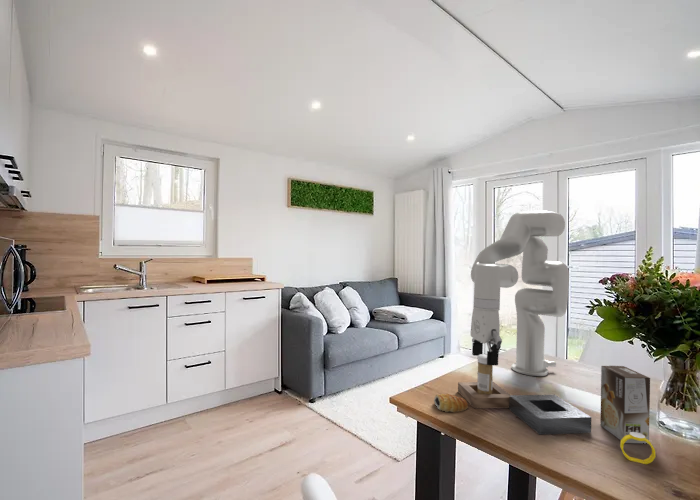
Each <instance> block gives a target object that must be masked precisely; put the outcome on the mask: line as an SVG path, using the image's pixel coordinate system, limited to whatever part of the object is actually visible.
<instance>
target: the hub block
mask: <svg viewBox="0 0 700 500" xmlns="http://www.w3.org/2000/svg"><path fill="white" fill-rule="evenodd" d="M508 410H509V411H511V412H512V413H513V414H514V415H515V416H517V417H518V418H519V419H520V420H522V422H524V423H525V424H526V425H527V426H529V428H531V429H532V430H534V431H535V433H537V434H538V435H565V434H567V435H569V434H590V433H592V418H593V417H592V416H590V415H589V414H587V413H585V412H584V411H583V410H581V409H579V408H578V407H576V406H574V405H572V404H570V403H569V402H568V401H566V400H564V399H563V398H561V397H560V396H558V395H556V394H524V395H523V394H522V395H521V394H519V395H518V394H515V395H514V394H513V395H511V394H510V395H509V408H508Z"/></svg>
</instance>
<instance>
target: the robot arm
mask: <svg viewBox="0 0 700 500" xmlns="http://www.w3.org/2000/svg"><path fill="white" fill-rule="evenodd" d="M565 228H566V221H565V218H564V216H563V215H562V214H561V213H559V212H554V211H548V210H533V211H532V210H531V211H519V212H516V213H514V214H512V215H511V217H510V218H509V220H508V222H507V224H506V226H505V228H504V230H503V232H502V234H501V236H500V239H498V240H496V241H495V242H493V243H491V244H489V245H488V246H486V247H485V248H484V249H482V251H480V252H479V253H478V255H477V256H476V258H475V260H474V262H473V265H472V267H471V271H470V278H471V280H472V282H473V284H474V285H473V287H474V288H473V309H472V315H471V323H470V337H471V338H472V339H471V341H472V349H471V353H472V354H471V355H472V356H477V357H478V355H480V354H484V353H483V351H484V350H483V349H484V348H483V347H484V344H485V345H486V346H487V349H488V350H487V353H486V355H487V365H493V366H498V365H499V353H500V352H501V351H500V349H501V346H502V343H503V339H502V338H501V336H500V332H501V329H500V327H501V325H500V324H501V323H500V313H499V312H500V306H501V305H500V304H501V288H503V289H504V288H505V289H508V288H512V287H514V286H515V285H516V284H517V283H518V280H519V271H518V270H517V268H516V267H515V266H513V265H512V264H508V263H507V264H505V263H496V262H499V261H502V260H506V259H510V258H513V257H515V256H518V255H521V254H522V260H521V261H522V262H521V280H522V281H521V282H523V283H525V284H526V285H530V286H541V287H551V288H552V290H550V289H549V290H548V289H541V288H531V287H530V288H529V287H526V288H525V287H524V288H521V289H519V290H517V291H516V292H515V295H514V304H515V310H516V346H515V347H516V351H515V355H516V356H515V362H514V363H512V364H511V369H512V371H514V372H517V373H519V374H521V375H527V376H532V377H544V376H547V375H549V370H548V367H552V368H553V367H557V363H556V362H555V361H549V360H548V359H547V360H546V359H545V333H546V332H545V330H546V329H545V325H544V322H543V320H542V318H541V317H540V316H547V317H552V318H553V317H554V318H561V317H563V316H565V314H566V312H567V309H568V299H569V297H568V296H569V286H570V285H569V284H570V283H569V282H570V272H569V267H568V266H567V264H566V263H564V262H561V261H556V260H555V261H554V260H553V261H552V260H548V254H549V253H548V251H549V249H548V246H547V245H546V243H545V242H544V240H543V239H542V238H541V237H560V236H561V235H562V234H563V233H564V231H565Z"/></svg>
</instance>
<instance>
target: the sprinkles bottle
mask: <svg viewBox="0 0 700 500" xmlns="http://www.w3.org/2000/svg"><path fill="white" fill-rule="evenodd" d="M493 366H494V365H487V353H486V354H485V353H483V354H480V355H478V356H477V381H476V382H477V388H478V394H492V388H493V382H494V381H493V380H494V379H493V372H494V371H493Z"/></svg>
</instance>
